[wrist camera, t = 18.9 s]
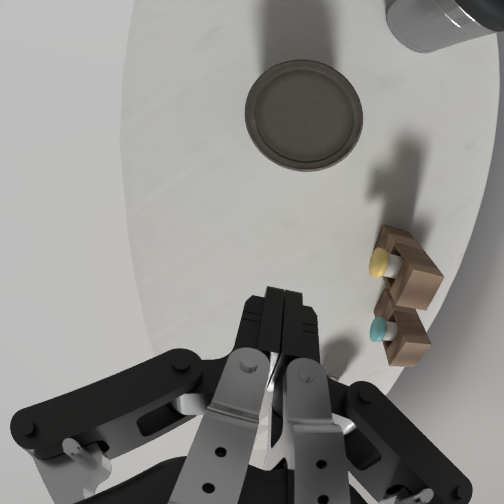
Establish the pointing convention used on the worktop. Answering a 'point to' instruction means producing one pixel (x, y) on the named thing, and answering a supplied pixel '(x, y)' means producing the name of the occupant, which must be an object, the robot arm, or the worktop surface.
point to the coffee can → (303, 115)
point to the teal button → (383, 330)
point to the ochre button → (384, 264)
